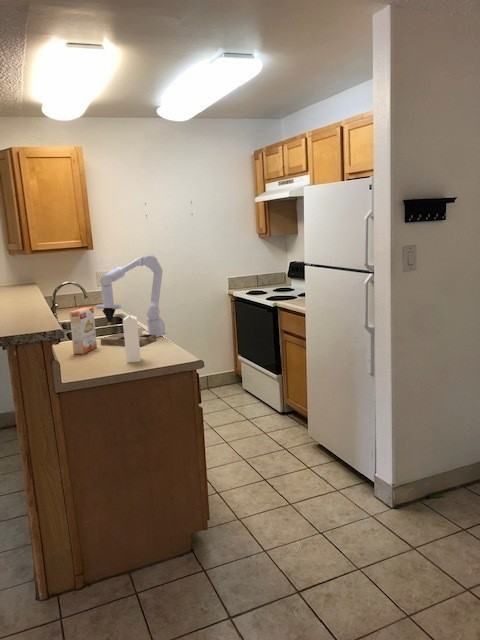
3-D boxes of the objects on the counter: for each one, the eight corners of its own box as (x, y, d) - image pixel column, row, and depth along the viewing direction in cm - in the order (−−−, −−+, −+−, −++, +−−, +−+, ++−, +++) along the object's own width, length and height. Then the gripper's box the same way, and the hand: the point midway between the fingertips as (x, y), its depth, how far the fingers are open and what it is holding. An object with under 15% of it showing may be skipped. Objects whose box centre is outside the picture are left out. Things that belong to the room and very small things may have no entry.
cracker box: (84, 354, 255) (80, 311, 251) (73, 354, 256) (68, 311, 253) (98, 347, 269) (93, 306, 265) (87, 347, 270) (82, 307, 266)
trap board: (118, 338, 288) (118, 333, 288) (156, 340, 278) (155, 334, 278) (101, 344, 275) (100, 339, 274) (140, 346, 265) (139, 340, 264)
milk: (140, 358, 241) (136, 310, 238) (140, 361, 236) (136, 312, 232) (127, 359, 241) (122, 311, 237) (126, 362, 235) (122, 313, 231)
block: (135, 334, 281) (134, 326, 280) (142, 334, 279) (141, 326, 278) (130, 336, 277) (129, 327, 276) (137, 336, 275) (136, 328, 274)
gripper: (91, 298, 283) (94, 323, 285) (114, 298, 277) (116, 323, 279) (100, 296, 289) (102, 320, 291) (122, 296, 283) (124, 321, 286)
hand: (110, 322), depth 286 cm, fingers closed
